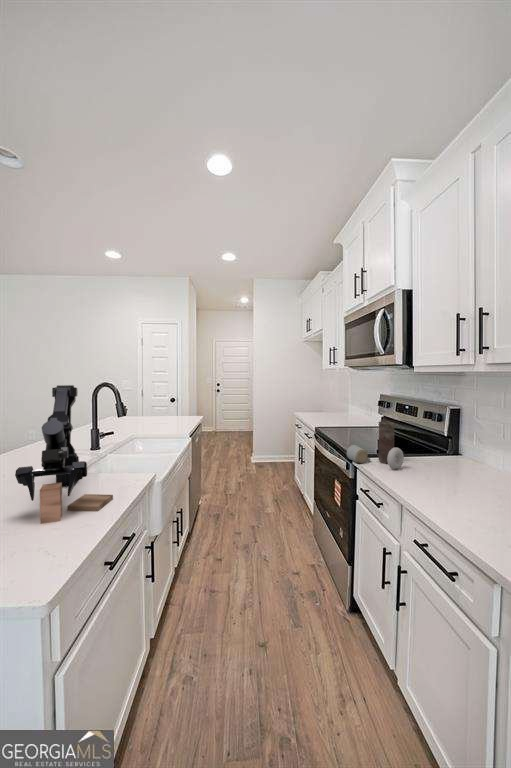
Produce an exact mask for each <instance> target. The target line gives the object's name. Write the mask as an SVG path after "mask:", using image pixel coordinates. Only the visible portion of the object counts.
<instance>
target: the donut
mask: <svg viewBox="0 0 511 768" xmlns="http://www.w3.org/2000/svg"><path fill="white" fill-rule="evenodd" d="M387 462H388V463H387V464H388V466H389V467H390V469H393V470H398V469H400V468H401V467H402V466H403V463H404V452H403V450H402V449H401V448H399V447H395V446H394V448H392V449H391V450H390V451H389V453H388V456H387Z"/></svg>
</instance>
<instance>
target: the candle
mask: <svg viewBox="0 0 511 768" xmlns="http://www.w3.org/2000/svg"><path fill="white" fill-rule="evenodd" d="M394 447H395V423H394V422H389V421H378V461H379V462H380V463H382V464H388V462H387V456H388V453H389V451H390V450H391V449H392V448H394Z"/></svg>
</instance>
